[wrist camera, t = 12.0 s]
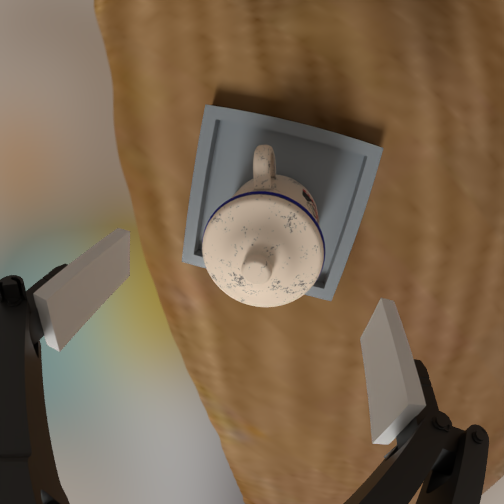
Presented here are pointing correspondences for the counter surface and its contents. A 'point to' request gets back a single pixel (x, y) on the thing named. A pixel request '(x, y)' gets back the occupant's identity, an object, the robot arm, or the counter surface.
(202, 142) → the cup tray
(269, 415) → the counter surface
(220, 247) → the teacup with lid
